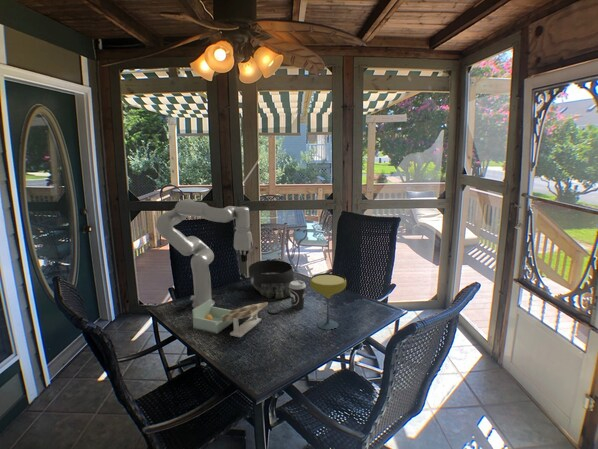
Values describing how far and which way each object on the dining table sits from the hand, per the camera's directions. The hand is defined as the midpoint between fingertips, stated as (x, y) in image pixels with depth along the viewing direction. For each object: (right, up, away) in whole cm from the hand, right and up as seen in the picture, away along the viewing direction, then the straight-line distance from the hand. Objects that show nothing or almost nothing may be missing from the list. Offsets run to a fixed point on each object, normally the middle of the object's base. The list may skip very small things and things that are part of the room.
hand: (244, 261), depth 213 cm
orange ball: (-16, -28, -16) cm, 36 cm away
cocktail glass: (+45, -31, -18) cm, 58 cm away
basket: (+13, -22, +29) cm, 39 cm away
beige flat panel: (+4, -24, -21) cm, 32 cm away
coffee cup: (+30, -27, +3) cm, 40 cm away
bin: (-13, -31, -16) cm, 38 cm away
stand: (+4, -32, -20) cm, 38 cm away
